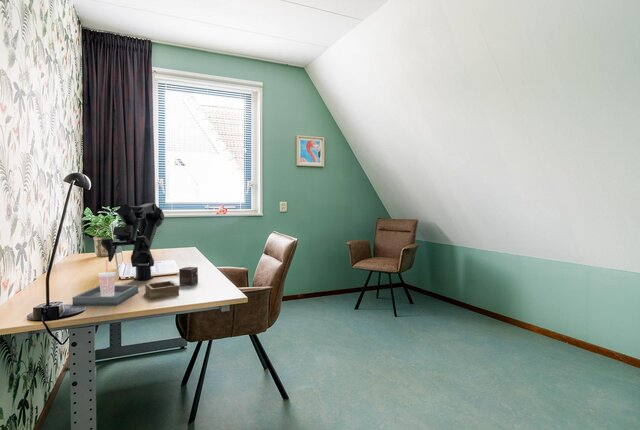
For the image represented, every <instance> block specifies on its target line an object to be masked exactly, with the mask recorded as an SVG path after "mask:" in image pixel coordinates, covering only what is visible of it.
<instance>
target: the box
mask: <svg viewBox="0 0 640 430" xmlns="http://www.w3.org/2000/svg"><path fill="white" fill-rule="evenodd" d="M178 271H179V273H178V275H179V278H178V279H179V283H178V284H179V286H190V287H191V286H194V285H196V284H198V283H199V274H198V273H199V272H198V267H196V266H195V267H194V266H185V267H181V268H179V269H178Z"/></svg>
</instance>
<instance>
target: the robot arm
mask: <svg viewBox="0 0 640 430" xmlns="http://www.w3.org/2000/svg"><path fill="white" fill-rule="evenodd" d="M116 213H117V215H118V217H119V219H120V220H121V223H123V224H124V225H123V226H114V227H113V231H112V232H113V233H112V234H113V235H114V236H116V239H117V240H114V239H113V238H112V237H111V238H109V237H108V238H103V239H101V242H100V245H101V246H102V247H103V249H104V250H105V251H106V252H107V257H108V258H107V261H108V262H109V263H111V262H112V260H113V259H114V257H115V254H116V252H117V248H118V247H123V246H125V247H128V246H133V250H132V252H131V256H130V262H131V267H132V268H135V277H133V280H136V281H141V282H143V281H146V280H151V279H154V276H152V269H151V267H154V266H155V259H154V257H153V254H152V252H151V247H152V244H153V241H154V237H155V234H156V231H157V228H158V227H160V226H162V224H163V223H164V222H163V221H165V214H164V212H163V210H162V208H160V207H159V206H158V205H157V203H154V202H147V203H144V204H141V205H137V206H136V205H134V206H133V205H130V203H123V205H122V206H120V207H118V208H117V210H116ZM141 219H142V220H143V219H145V222H146V227H145V230H144V233H143V234H142V236H138V231H139V228H141V224H140V223H141V221H140V220H141Z"/></svg>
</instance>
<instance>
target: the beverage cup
mask: <svg viewBox="0 0 640 430" xmlns="http://www.w3.org/2000/svg"><path fill="white" fill-rule="evenodd" d="M108 268H109V267H108V259H106V260H105V271H103V272H99V273H97V276H98V281H99V285H100V293H101V297H112V296H114V289H115V285H116V273H117V272H115V271H109V270H108Z"/></svg>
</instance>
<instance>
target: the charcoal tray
mask: <svg viewBox="0 0 640 430" xmlns="http://www.w3.org/2000/svg"><path fill="white" fill-rule="evenodd" d="M138 293H139V285H138V284H134V285H133V284H132V285H130V284H124V285H120V284H115V289H114V296H112V297H101V293H100V284H98V285H97V286H94V287H92V288H90V289H88V290H85V291H83V292H81V293H79V294H77V295H75V296H73V297H72V306H118V305H120V304H122V303H123V302H125V301H127V300H128V299H130V298H132V297H134V296H135V295H137V294H138Z"/></svg>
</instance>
